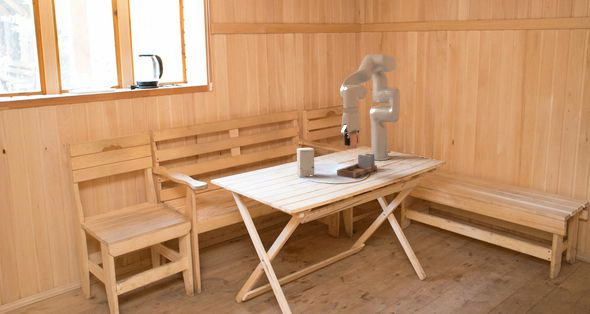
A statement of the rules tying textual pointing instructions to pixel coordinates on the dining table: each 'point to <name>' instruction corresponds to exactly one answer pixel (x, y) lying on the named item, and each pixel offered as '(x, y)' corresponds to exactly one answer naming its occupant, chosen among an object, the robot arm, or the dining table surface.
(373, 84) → the robot arm
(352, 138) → the jar
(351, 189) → the dining table surface
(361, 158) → the pusher
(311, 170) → the skincare box
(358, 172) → the brown wooden tray
